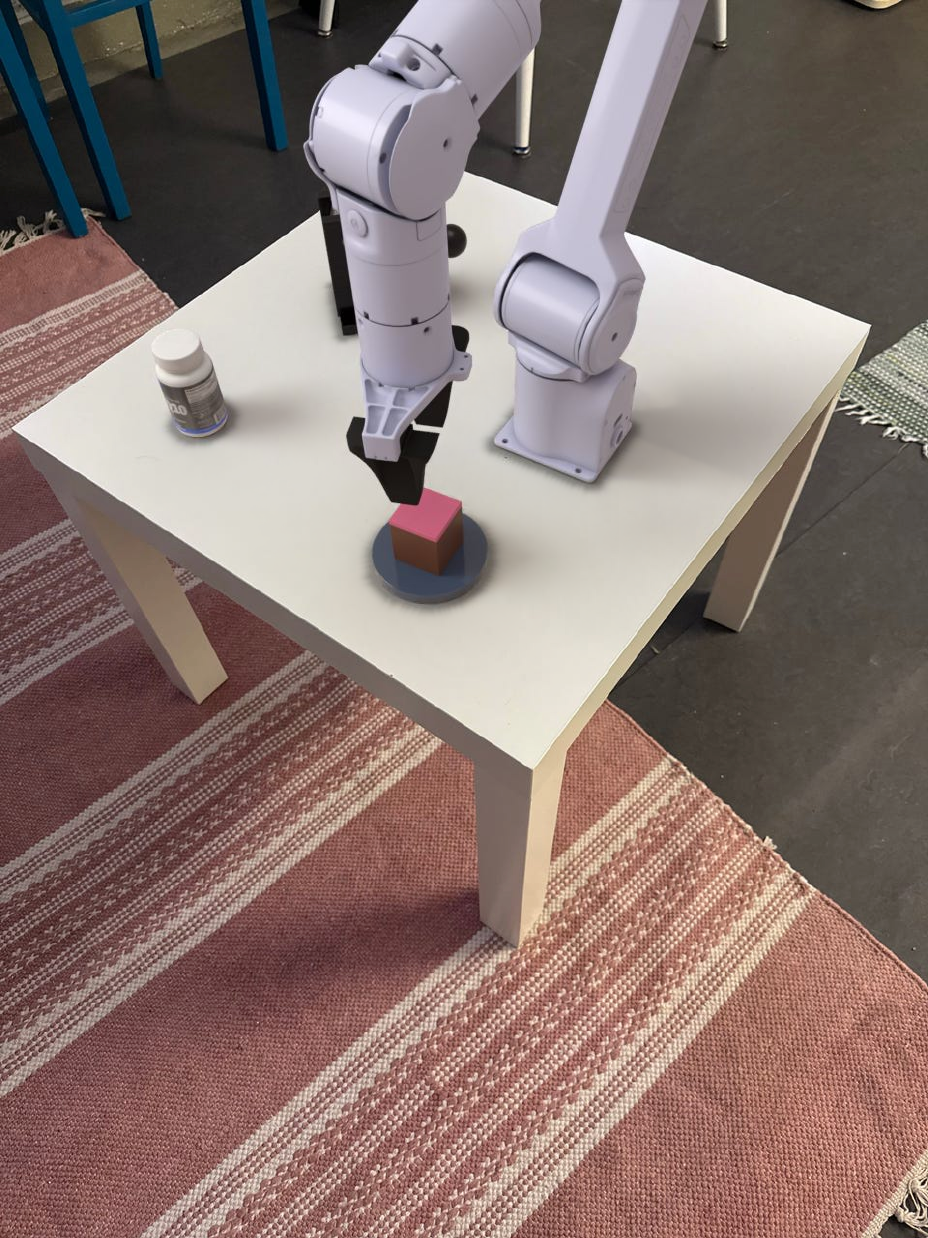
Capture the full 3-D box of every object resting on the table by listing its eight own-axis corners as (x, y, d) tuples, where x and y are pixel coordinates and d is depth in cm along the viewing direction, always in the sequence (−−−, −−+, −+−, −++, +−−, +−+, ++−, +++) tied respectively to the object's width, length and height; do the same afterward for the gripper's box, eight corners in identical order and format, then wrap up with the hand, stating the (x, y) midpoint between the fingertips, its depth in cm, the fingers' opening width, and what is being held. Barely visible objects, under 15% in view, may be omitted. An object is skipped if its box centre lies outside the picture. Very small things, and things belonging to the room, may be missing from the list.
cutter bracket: (375, 279, 93) (362, 176, 84) (386, 329, 88) (374, 225, 79) (332, 285, 92) (314, 182, 83) (341, 335, 88) (323, 232, 79)
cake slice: (393, 558, 71) (388, 519, 67) (419, 522, 73) (415, 483, 69) (439, 576, 70) (436, 538, 66) (464, 540, 72) (462, 501, 68)
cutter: (458, 248, 89) (467, 220, 86) (464, 266, 87) (473, 238, 85) (326, 225, 84) (332, 194, 82) (329, 244, 82) (336, 213, 80)
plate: (508, 541, 73) (509, 532, 72) (449, 622, 68) (448, 614, 68) (413, 498, 75) (412, 490, 75) (350, 574, 71) (349, 566, 70)
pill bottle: (165, 418, 82) (135, 341, 75) (211, 394, 83) (185, 316, 77) (192, 446, 80) (164, 370, 73) (239, 421, 81) (215, 344, 74)
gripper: (440, 386, 49) (451, 546, 60) (492, 231, 57) (492, 397, 68) (315, 371, 50) (348, 531, 61) (382, 220, 58) (401, 386, 69)
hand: (418, 460), depth 65 cm, fingers open, 7 cm apart
